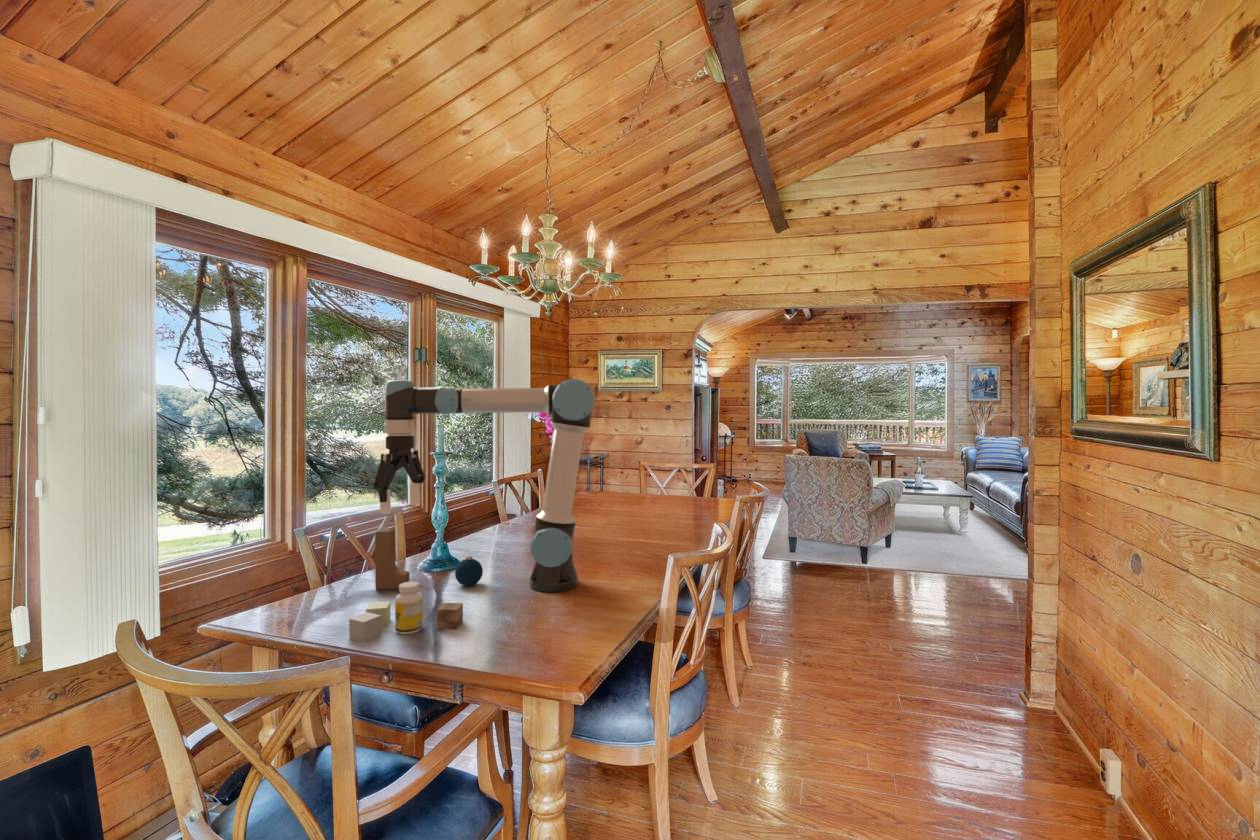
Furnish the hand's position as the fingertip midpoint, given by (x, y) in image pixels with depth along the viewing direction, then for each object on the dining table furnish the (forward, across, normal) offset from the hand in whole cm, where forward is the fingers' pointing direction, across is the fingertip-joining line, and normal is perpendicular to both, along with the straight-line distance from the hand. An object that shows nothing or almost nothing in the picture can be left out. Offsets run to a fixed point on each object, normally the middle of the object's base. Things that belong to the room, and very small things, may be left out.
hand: (401, 509), depth 162 cm
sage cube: (+27, +15, +4) cm, 31 cm away
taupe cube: (+27, +23, +6) cm, 36 cm away
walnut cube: (+27, +11, +22) cm, 37 cm away
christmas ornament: (+27, -19, +10) cm, 35 cm away
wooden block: (+27, -11, -11) cm, 31 cm away
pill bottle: (+27, +17, +14) cm, 35 cm away
